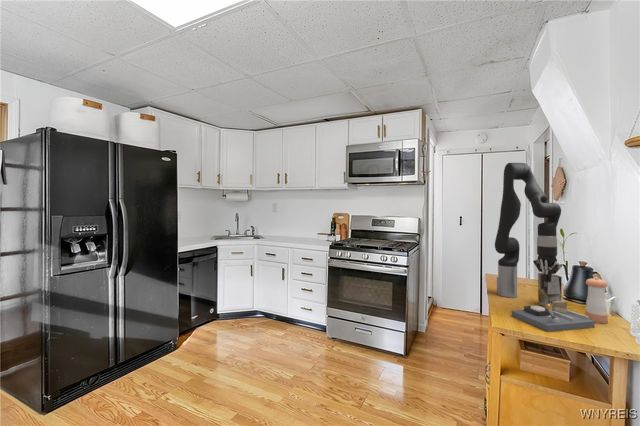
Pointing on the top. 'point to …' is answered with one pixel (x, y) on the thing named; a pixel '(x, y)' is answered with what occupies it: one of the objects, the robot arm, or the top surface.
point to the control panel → (558, 323)
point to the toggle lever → (550, 310)
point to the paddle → (559, 306)
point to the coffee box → (549, 289)
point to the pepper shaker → (596, 300)
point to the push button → (538, 308)
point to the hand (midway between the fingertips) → (547, 281)
